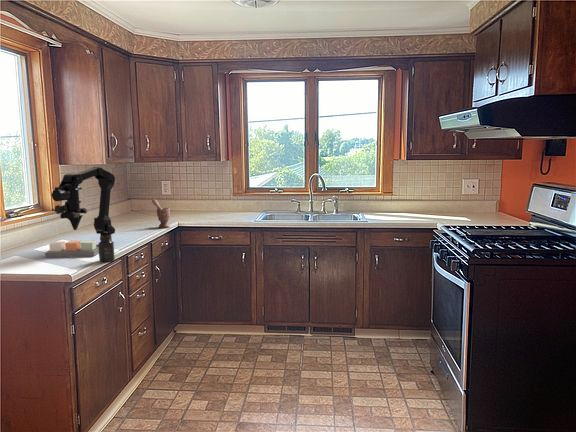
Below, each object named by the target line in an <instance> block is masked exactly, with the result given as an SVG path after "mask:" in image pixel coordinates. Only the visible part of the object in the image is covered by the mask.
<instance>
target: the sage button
mask: <svg viewBox="0 0 576 432" xmlns="http://www.w3.org/2000/svg"><path fill="white" fill-rule="evenodd" d="M96 247H97V241H96V240H84V241H82V242H81V251H93V250H94V249H96Z"/></svg>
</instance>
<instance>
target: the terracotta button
mask: <svg viewBox="0 0 576 432" xmlns="http://www.w3.org/2000/svg"><path fill="white" fill-rule="evenodd" d="M81 241H82V240H68V241H67V242H65V248H66V251H78V250H80V249H81V243H82V242H81Z"/></svg>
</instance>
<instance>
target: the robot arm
mask: <svg viewBox="0 0 576 432" xmlns="http://www.w3.org/2000/svg"><path fill="white" fill-rule="evenodd" d="M93 177H94V178H95V179H96V180H97V184H98V186H99V188H100V196H99V209H98V215H97V216H96V217H95V218H93V219H94V220H93V226H94V229H95V232H96V234H100V236H103V235H110V236H111V241H113V240H112V237H113V236H112V235H113V234H115V233H116V228H115V227H114V226H113V225H112V220H111V218H110V215H109V213H110V212H109V211H110V202H111V201H110V200H111V190H112V189H113V187H114V186H115V183H116V176H115V175H114V174H113V173H111V172H110V171H108V170H105V169H104V168H102V167H101V166H94V167H91V168H88V169H85V170H82V171H79V172H77V173H66V174H64V175H63V177H62V179H61V181H60V183H59V184H58V186H55V187H54V189H53V190H52V192H51V198H52V200H53V201H54V202H62V201H65V202H64V204H63V205H60V204H57V205H55V206H54V212H55V213H56V215H59V214H60V215H59V217H60V219H67V220H69V222H70V224H71V227H72V229H73V230H74V231H77V230H78V227H79V225H80V223H81V220H82V217H83V214H87V209H86V207H81V206H80V203H82V201H81V200H80V192H79V191H80V190H82V187H81V186H80V185H81V184H82V183H83V182H84V181H85V180H88V179H91V178H93ZM100 236H99V237H100ZM113 243H114V244H115V242H114V241H113Z"/></svg>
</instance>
